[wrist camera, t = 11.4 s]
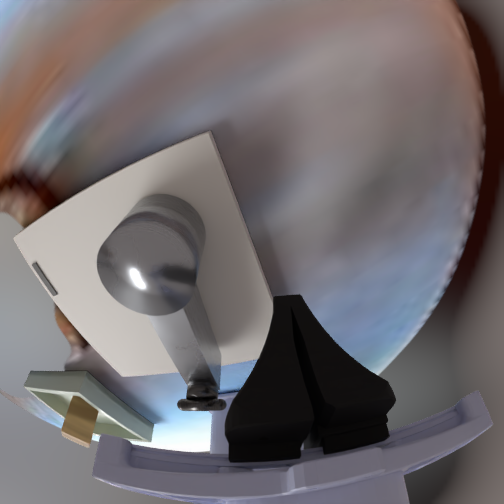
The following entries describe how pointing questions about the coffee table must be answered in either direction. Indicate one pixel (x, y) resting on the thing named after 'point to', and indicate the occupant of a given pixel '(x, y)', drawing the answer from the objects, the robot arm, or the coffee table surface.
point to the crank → (167, 288)
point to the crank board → (209, 275)
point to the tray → (93, 392)
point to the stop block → (79, 421)
